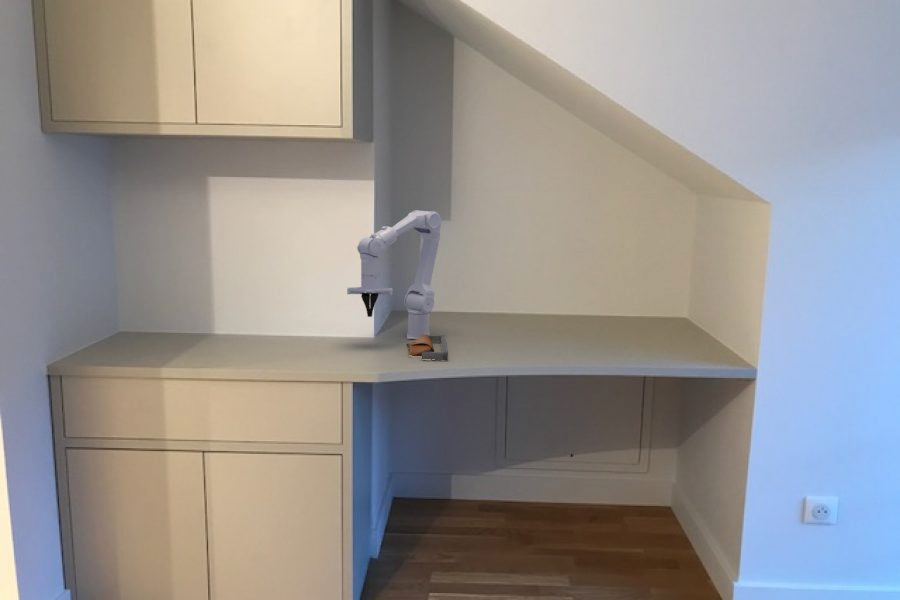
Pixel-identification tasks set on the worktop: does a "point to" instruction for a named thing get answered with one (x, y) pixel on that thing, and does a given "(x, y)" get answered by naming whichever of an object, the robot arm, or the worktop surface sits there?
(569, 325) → the worktop surface
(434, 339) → the keeper bracket
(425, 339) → the sunglasses case
